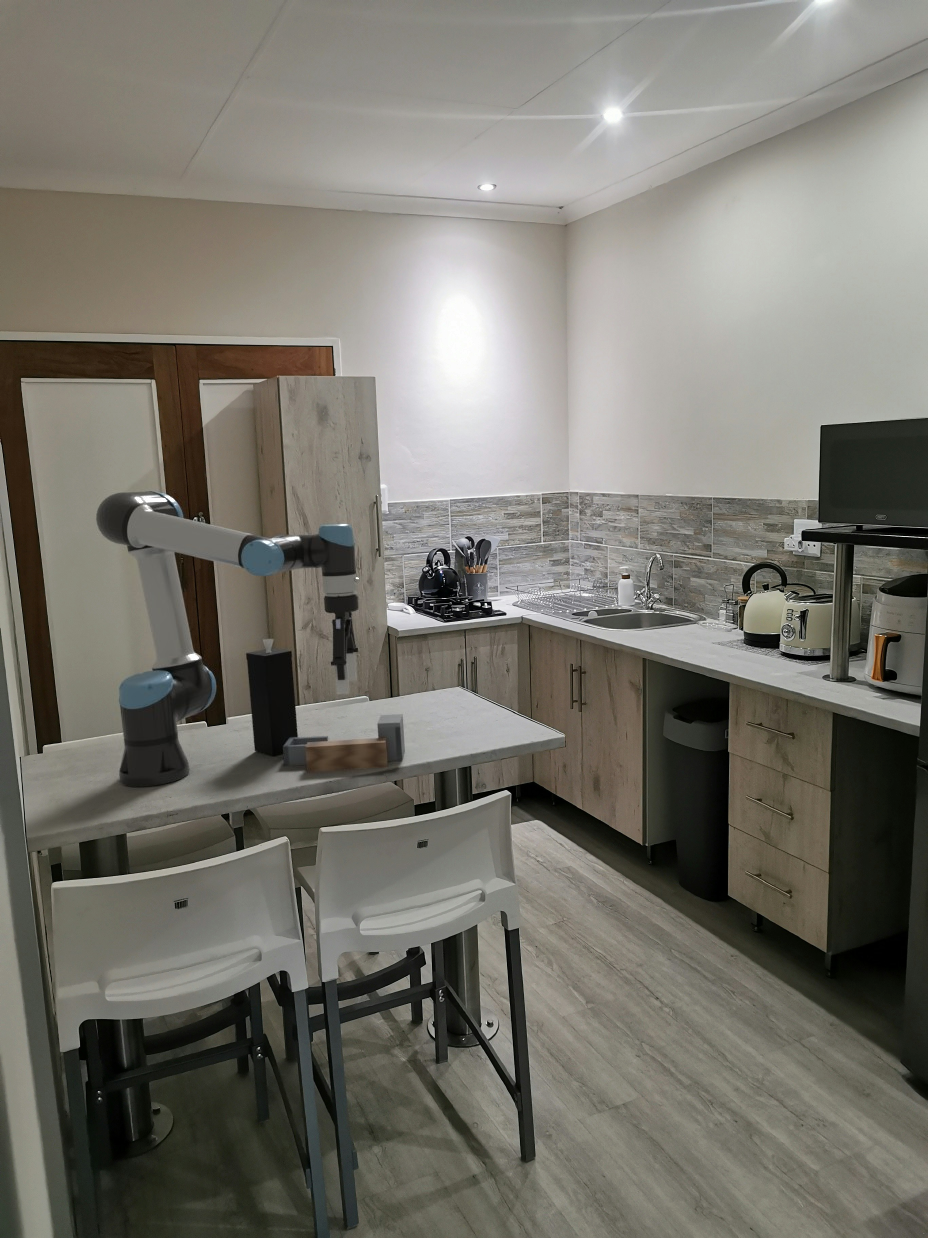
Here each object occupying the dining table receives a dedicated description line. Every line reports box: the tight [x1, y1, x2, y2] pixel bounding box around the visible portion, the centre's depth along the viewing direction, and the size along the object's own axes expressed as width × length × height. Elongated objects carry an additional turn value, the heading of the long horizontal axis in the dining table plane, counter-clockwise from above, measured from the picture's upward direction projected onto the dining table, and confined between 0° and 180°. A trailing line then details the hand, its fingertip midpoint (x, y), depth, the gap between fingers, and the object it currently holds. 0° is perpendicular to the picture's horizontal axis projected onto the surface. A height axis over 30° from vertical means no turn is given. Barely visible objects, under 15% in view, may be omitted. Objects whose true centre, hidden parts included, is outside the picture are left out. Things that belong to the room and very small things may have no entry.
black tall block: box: [245, 638, 299, 757], centre depth 225 cm, size 8×8×28 cm
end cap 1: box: [282, 735, 329, 767], centre depth 217 cm, size 9×8×4 cm
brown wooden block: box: [305, 737, 389, 773], centre depth 210 cm, size 18×4×6 cm, turn 93°
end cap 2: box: [376, 713, 406, 762], centre depth 216 cm, size 5×8×9 cm, turn 179°
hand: (347, 687), depth 208 cm, fingers open, 13 cm apart
